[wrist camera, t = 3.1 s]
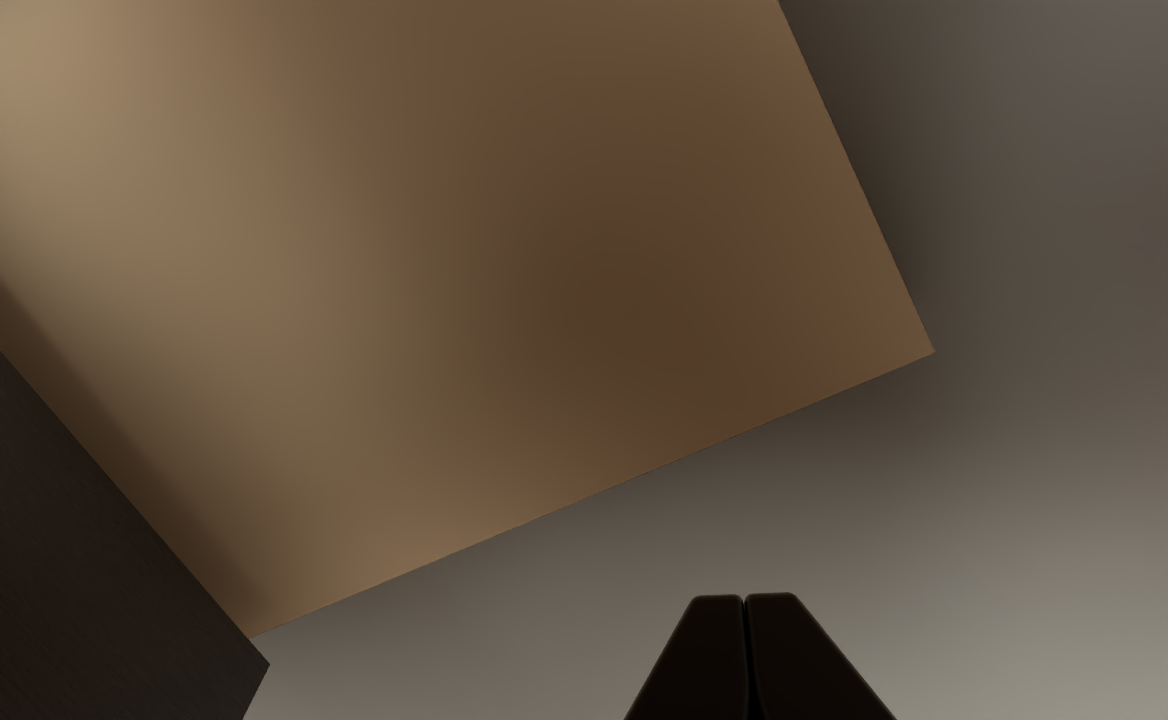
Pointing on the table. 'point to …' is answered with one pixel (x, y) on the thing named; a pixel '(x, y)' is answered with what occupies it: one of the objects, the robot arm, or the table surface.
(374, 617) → the table surface
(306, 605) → the tuner board
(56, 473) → the peg knob
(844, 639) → the table surface
